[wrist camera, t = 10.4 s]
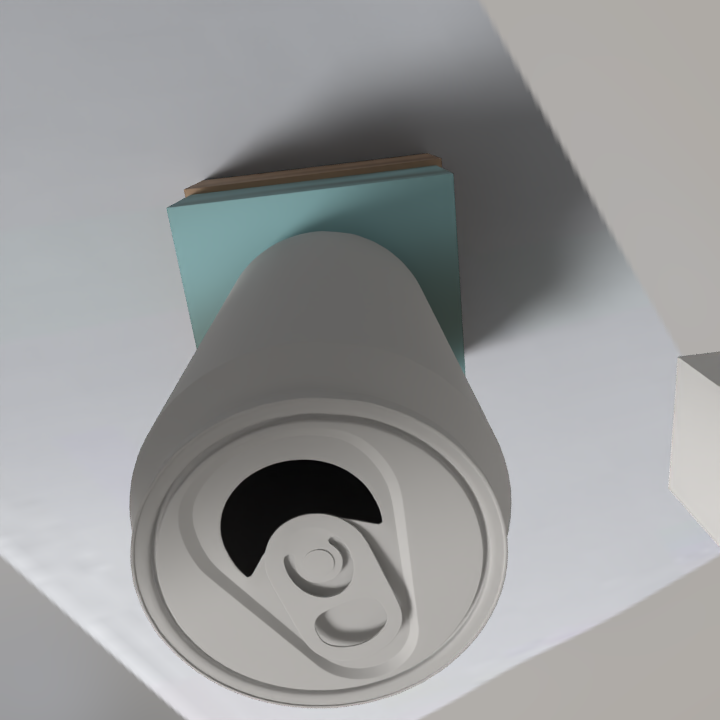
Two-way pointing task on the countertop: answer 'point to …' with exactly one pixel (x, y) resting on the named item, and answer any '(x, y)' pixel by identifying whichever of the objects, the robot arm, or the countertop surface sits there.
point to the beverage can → (321, 487)
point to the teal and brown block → (322, 227)
